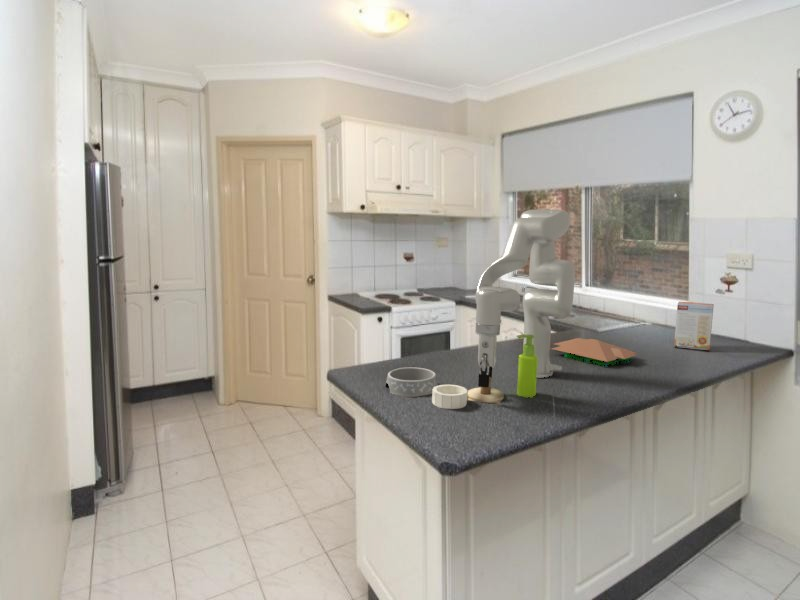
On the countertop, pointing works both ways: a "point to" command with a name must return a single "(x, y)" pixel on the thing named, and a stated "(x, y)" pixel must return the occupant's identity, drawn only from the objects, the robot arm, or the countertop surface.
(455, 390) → the bowl
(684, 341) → the cracker box
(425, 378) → the dog bowl
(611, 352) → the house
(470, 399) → the mat
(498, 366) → the countertop surface
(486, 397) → the lid
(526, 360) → the soap dispenser
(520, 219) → the robot arm
